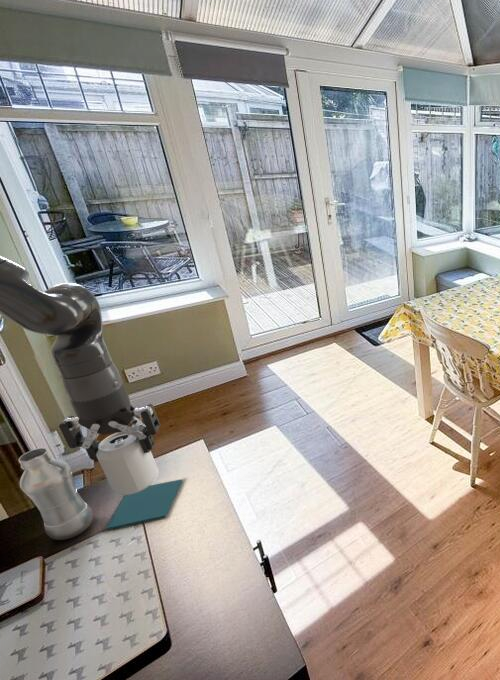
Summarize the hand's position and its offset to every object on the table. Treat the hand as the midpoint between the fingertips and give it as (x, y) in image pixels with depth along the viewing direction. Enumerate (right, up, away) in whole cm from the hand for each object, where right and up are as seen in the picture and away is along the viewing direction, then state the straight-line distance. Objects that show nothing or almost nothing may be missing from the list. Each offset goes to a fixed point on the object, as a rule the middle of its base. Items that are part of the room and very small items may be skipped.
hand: (124, 454), depth 84 cm
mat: (0, -13, +6) cm, 14 cm away
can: (0, -8, +3) cm, 8 cm away
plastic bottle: (-10, -15, 0) cm, 18 cm away
